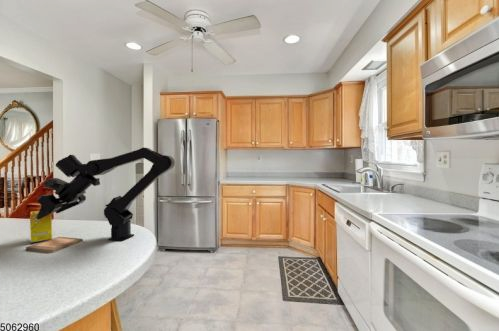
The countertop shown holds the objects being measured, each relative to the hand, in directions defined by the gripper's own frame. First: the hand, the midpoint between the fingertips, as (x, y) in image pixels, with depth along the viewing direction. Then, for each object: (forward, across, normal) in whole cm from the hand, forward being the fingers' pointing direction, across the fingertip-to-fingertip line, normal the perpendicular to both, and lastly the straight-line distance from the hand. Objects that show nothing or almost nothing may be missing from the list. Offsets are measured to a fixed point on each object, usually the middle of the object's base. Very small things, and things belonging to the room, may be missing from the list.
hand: (47, 215), depth 89 cm
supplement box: (+8, 0, +5) cm, 10 cm away
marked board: (+2, +6, +12) cm, 13 cm away
